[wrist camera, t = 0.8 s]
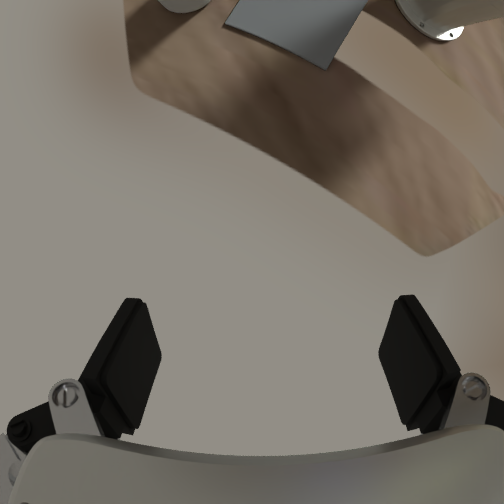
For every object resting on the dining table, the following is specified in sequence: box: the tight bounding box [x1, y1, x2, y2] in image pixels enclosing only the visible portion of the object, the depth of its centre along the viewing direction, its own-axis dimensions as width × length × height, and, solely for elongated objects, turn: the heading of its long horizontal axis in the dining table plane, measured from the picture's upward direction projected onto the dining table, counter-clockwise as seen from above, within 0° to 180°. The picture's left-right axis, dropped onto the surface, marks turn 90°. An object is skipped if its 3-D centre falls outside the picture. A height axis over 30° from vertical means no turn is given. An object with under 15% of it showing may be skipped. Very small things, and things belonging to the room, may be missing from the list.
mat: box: [225, 0, 368, 70], centre depth 26 cm, size 14×14×1 cm
